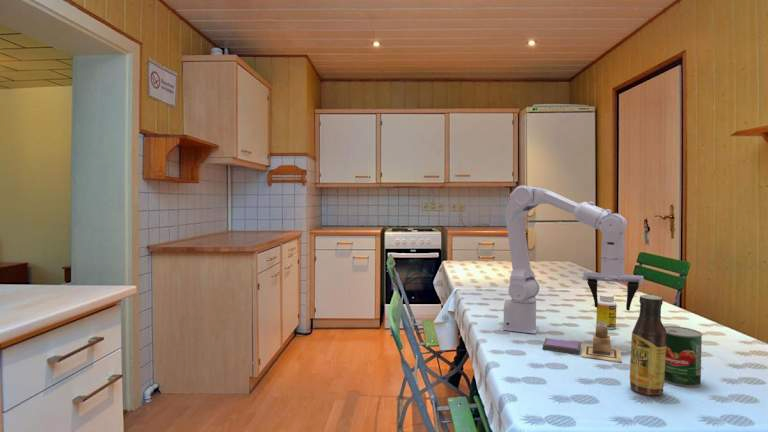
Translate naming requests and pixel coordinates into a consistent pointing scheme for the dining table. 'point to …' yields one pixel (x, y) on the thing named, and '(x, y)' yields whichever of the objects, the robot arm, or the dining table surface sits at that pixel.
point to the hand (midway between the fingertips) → (611, 308)
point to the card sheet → (614, 354)
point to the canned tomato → (683, 356)
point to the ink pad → (562, 346)
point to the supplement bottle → (606, 311)
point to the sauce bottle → (648, 348)
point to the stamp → (601, 341)
